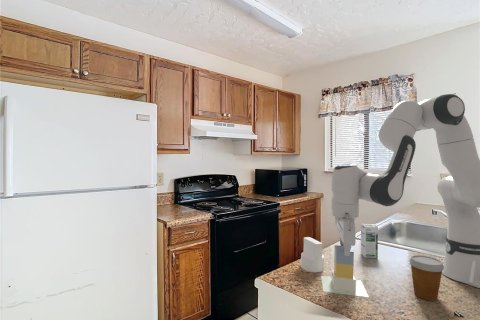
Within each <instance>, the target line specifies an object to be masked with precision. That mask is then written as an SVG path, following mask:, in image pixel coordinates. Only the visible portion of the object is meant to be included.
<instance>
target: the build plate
mask: <svg viewBox="0 0 480 320" xmlns="http://www.w3.org/2000/svg"><path fill="white" fill-rule="evenodd" d="M320 277H321V278H320V279H321V284H322V291H323V292H325V293H331V294H332V293H333V294H340V295H348V296H357V297H363V298H370V297H369V294H368V292H367V290H366V288H365V286H364V285H365V284H364V283H363V281H362V280H360V279H356V292H353V291H345V290H337V289H333V284H332V276H325V275H320Z"/></svg>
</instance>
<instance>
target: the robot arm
mask: <svg viewBox="0 0 480 320" xmlns="http://www.w3.org/2000/svg"><path fill="white" fill-rule="evenodd" d="M465 111H466V106H465V102H464V101H463V99H462V98H461V97H459V96H458V95H456V94H453V93H447V94H446V93H445V94H441V95H439V96H435V97H431V98H428V99H424V100H422V101H420V102H417V101H413V100H410V99H409V100H403V101H400V102H398V103H397V104H396V105H395V106H394V107H393V109H391V111H390V112H389V114H387V116H386V118H385V120H384V121H383V122H382V125H381V127H379V128H380V129H379V131H378V139H379V142H380V143H381V144H382V146H384V147H385V148H386V149H388V150H389V151H392V152H393V154H392V157H391V160H390V162H389V164H388V167H387V169H386V171H384V172H382V173H380V174H377V173H369V172H367V171H364V170H363V169H361V168H359V167H358V165H357V164H355V163H343V164H342V163H341V164H338V165H336V166H335V167H333V168H334V169H333V170H332V175H331V191H332V198H331V215H332V217H334V221H335V230H336V231H337V233H338V236H339V246H344V255H345V256H350V250H351V247H353V246H355V245H356V242H357V241H356V238H357V237H356V223H355V221H356V219H355V218H359V216H360V201H359V200H363V201H366V202H371V203H375V204H378V205H380V206H384V207H392V206H394V205H395V204H397V203H398V202H399V201H400V200H401V199H402V197H403V194H404V190H405V189H404V188H405V182H406V178H407V176H408V174H409V171H410V168H411V164H412V161H413V159H414V156H415V151H416V146H417V145H416V141H415V139H414V137H415V135H416V133H417V132H418V131H424V130H431V129H433V130H434V132H435V139H436V143H437V148H438V153H439V157H440V161H441V164H442V165H443V166H444V167H445V168H446V170H447V172H449V174H450V175H447V176H445V177H442V178H441V179H440V180H439V181H438V183H437V192H438V193H439V195H440V197H441V199H442V201H443V205H444V208H445V212H446V218H447V219H446V220H447V225H446V226H447V227H446V228H447V231H446V232H447V233H446V234H447V235H446V237H445V259H444V264H443V266H444V269H443V271H442V275H444V276H446V277H447V278H449V279H451V280H453V281H457V282H459V283H462V284H466V285H469V286H471V287H475V288H478V289H480V213H479V210H478V208H479V209H480V157H479V154H478V150H477V147H476V142H475V138H474V135H473V132H472V131H473V130H472V129H471V126H470V123H469V121H468V119H467V118H466V116H465Z"/></svg>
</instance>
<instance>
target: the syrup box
mask: <svg viewBox="0 0 480 320" xmlns="http://www.w3.org/2000/svg"><path fill="white" fill-rule="evenodd" d="M378 249H379V227H378V226H377V225H376V224H374V223H370V224H369V223H361V224H360V255H361V256H362V257H364V259H366V258H367V259H368V258H369V259H378V258H379V255H378V254H379V250H378Z"/></svg>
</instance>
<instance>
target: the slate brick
mask: <svg viewBox="0 0 480 320" xmlns="http://www.w3.org/2000/svg"><path fill="white" fill-rule="evenodd" d="M354 252H355V251H354V249H353V246H351V250H350V256H345V255H344V246H341V245H340V244H339V245H337V244H334V255H333V256H334V257H333V258H335V261H336V264H346V265H354V262H355V260H354V259H355V257H354V256H355V253H354Z"/></svg>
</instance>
